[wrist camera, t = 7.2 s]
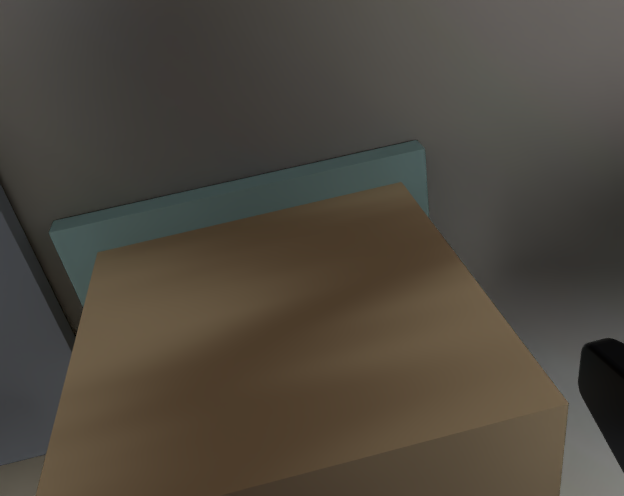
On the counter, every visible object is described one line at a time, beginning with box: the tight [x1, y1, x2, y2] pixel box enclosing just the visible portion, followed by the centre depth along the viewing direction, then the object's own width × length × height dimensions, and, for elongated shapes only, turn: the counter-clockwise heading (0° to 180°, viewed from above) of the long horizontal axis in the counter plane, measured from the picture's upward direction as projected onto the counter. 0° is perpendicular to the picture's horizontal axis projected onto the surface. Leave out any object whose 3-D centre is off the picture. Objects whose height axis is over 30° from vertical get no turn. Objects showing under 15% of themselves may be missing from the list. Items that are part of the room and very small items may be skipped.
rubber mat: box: [49, 140, 429, 307], centre depth 11 cm, size 6×6×1 cm
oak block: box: [36, 182, 569, 496], centre depth 9 cm, size 5×5×5 cm
